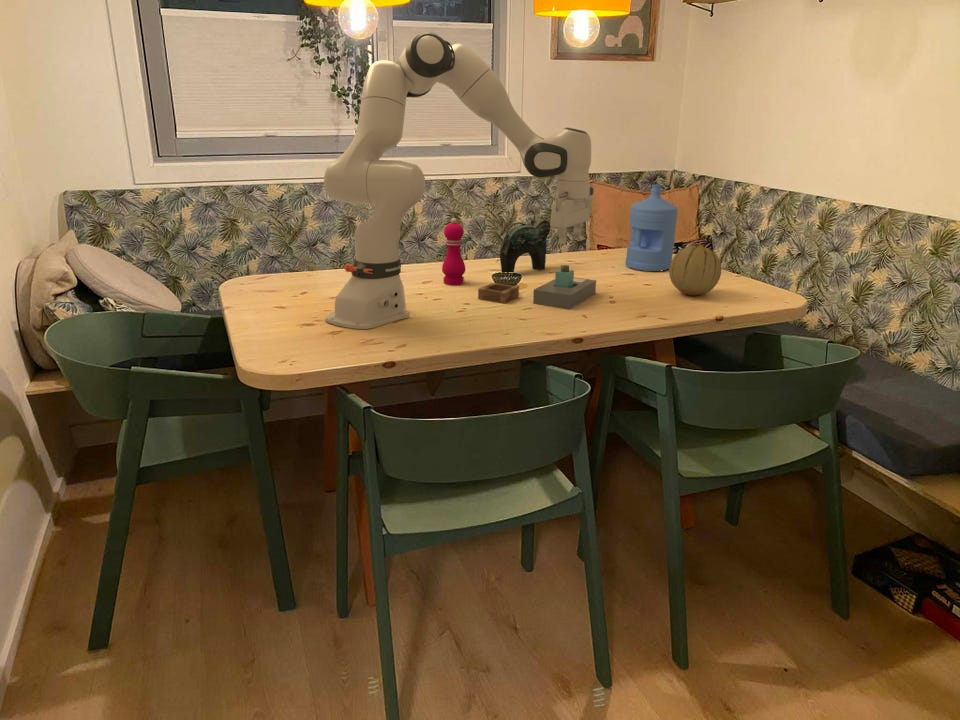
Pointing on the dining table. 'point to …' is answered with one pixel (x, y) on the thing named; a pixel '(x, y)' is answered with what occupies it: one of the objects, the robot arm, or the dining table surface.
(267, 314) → the dining table surface
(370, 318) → the robot arm
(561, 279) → the plug
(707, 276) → the cantaloupe
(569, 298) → the block
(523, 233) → the dark green animal figurine
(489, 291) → the brown wooden box
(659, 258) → the water jug
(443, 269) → the pepper mill
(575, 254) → the dining table surface
